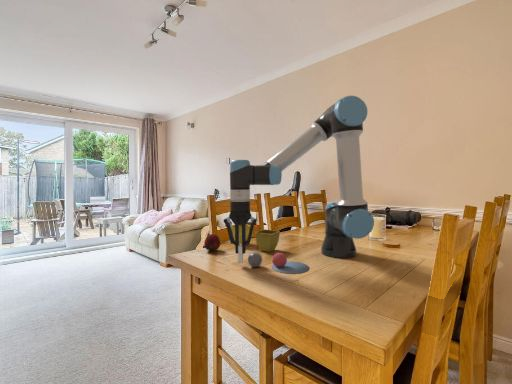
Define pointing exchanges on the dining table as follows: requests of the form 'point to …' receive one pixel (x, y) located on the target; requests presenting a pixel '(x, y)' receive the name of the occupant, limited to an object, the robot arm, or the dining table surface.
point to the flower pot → (267, 239)
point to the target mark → (292, 267)
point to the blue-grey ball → (254, 259)
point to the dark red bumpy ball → (212, 242)
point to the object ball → (279, 260)
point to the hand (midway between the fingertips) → (240, 261)
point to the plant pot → (240, 232)
